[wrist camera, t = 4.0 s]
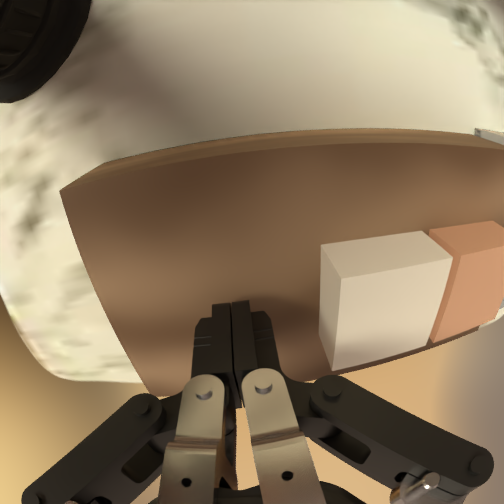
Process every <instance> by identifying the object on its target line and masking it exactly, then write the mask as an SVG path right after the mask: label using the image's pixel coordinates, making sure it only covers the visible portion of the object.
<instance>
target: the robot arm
mask: <svg viewBox="0 0 504 504" xmlns="http://www.w3.org/2000/svg"><path fill="white" fill-rule="evenodd" d="M193 346H194V347H193V357H192V369H191V379H190V380H189V381H188V382H187V383H186V384H185V386H184V389H183V390H182V391H181V392H180V393H178V394H176V395H173V396H170V397H167V398H164V399H161V400H159V399H158V398H157V397H156V396H154V395H152V394H148V393H143V394H138V395H135V396H133V397H132V398H130V399H129V400H128V401H127V402H126V403H125V404H124V405H123V406H121V407H120V408H119V409H118V410H117V411H116V412H115V413H114V414H112V416H110V417H109V418H108V419H107V420H106V421H105V422H103V423H102V424H101V425H100V426H99V427H98V428H97V429H95V430H94V431H93V432H92V433H91V434H90V435H89V436H87V437H86V438H85V439H84V440H83V441H82V442H81V443H79V444H78V445H77V446H76V447H75V448H74V449H73V450H71V451H70V452H69V453H68V454H67V455H65V456H64V457H63V458H62V459H61V460H59V461H58V462H57V463H56V464H55V465H54V466H52V467H51V468H50V469H49V470H48V471H46V472H45V473H44V474H43V475H42V476H41V477H39V478H38V479H37V480H36V481H34V482H33V483H32V484H31V485H30V486H28V487H27V488H26V489H25V491H24V492H23V494H22V500H21V501H22V504H130V503H131V502H132V501H133V500H134V499H136V498H137V497H138V496H139V495H140V494H141V493H142V492H143V491H144V490H145V489H146V488H147V487H148V486H149V485H150V484H151V483H152V482H153V481H154V480H155V479H156V478H157V477H158V476H160V474H161V480H160V488H159V494H158V497H157V498H155V499H154V500H152V501H151V502H150V503H148V504H366V503H365V502H363V501H361V500H360V499H358V498H357V497H355V496H354V495H352V494H351V493H349V492H348V491H346V490H345V489H343V488H341V487H339V486H336V485H333V484H331V483H327V482H323V481H319V479H318V476H317V473H316V470H315V466H314V463H313V460H312V457H311V454H310V451H309V448H308V444H307V441H306V438H305V437H309V438H310V439H311V440H312V441H314V442H315V443H316V444H318V445H319V446H321V447H322V448H324V449H325V450H327V451H328V452H330V453H331V454H333V455H334V456H336V457H338V458H339V459H341V460H342V461H344V462H345V463H347V464H349V465H351V466H352V467H354V468H355V469H357V470H359V471H360V472H362V473H364V474H366V475H367V476H369V477H371V478H372V479H374V480H376V481H378V482H379V483H381V484H383V485H385V486H387V487H388V488H390V489H392V491H391V494H390V504H463V502H464V500H465V498H466V496H467V495H468V494H469V493H470V492H471V491H473V490H474V489H476V488H477V487H479V486H481V485H482V484H484V483H485V482H486V481H487V480H488V479H489V478H490V476H491V474H492V472H493V468H494V461H493V457H492V455H491V453H490V452H489V451H488V450H487V449H485V448H483V447H480V446H478V445H476V444H473V443H471V442H469V441H466V440H465V439H462V438H460V437H458V436H456V435H454V434H452V433H450V432H447V431H445V430H443V429H441V428H439V427H437V426H435V425H433V424H431V423H429V422H427V421H424V420H422V419H420V418H419V417H417V416H415V415H413V414H411V413H409V412H407V411H405V410H403V409H401V408H399V407H397V406H395V405H393V404H392V403H390V402H387V401H386V400H384V399H382V398H380V397H378V396H377V395H375V394H373V393H371V392H369V391H367V390H366V389H364V388H362V387H360V386H358V385H357V384H355V383H353V382H351V381H349V380H348V379H346V378H344V377H342V376H338V375H326V376H323V377H321V378H319V379H317V380H316V381H315V382H314V383H305V382H298V381H295V380H292V379H290V378H289V377H287V376H286V375H285V374H284V373H283V372H282V370H281V367H280V362H279V357H278V352H277V347H276V342H275V338H274V332H273V327H272V322H271V318H270V317H269V316H268V315H267V314H266V312H265V311H264V310H263V311H256V312H251V310H250V303H249V300H243V301H235V302H231V303H230V302H228V303H219V304H212V317H207V318H201V319H200V320H199V322H198V324H197V325H196V327H195V334H194V345H193ZM241 399H242V401H241ZM242 402H243V406H244V408H245V409H246V415H247V420H248V425H249V430H250V436H251V444H252V450H253V455H254V460H255V465H256V470H257V475H258V480H259V485H258V486H255V487H252V488H248V489H245V490H238V483H237V482H238V481H237V474H236V436H237V433H236V432H237V425H236V409H237V408H242Z"/></svg>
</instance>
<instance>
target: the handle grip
mask: <svg viewBox="0 0 504 504" xmlns="http://www.w3.org/2000/svg"><path fill="white" fill-rule="evenodd" d="M90 4H91V0H0V103H11V102H14V101H17V100H21V99H24V98H25V97H27V96H28V95H30V94H31V93H33V92H34V91H36V90H38V89H39V88H40V87H41V86H42V85H43V84H44V83H45V82H46V81H48V80H49V79H50V78H51V77H52V76H53V75H54V74H55V73H56V71H57V70H58V69H59V68H60V66H61V65H62V64H63V62H64V61H65V60H66V59H67V58H68V56H69V54H70V53H71V51H72V49H73V47H74V46H75V44H76V42H77V41H78V39H79V37H80V35H81V32H82V30H83V27H84V25H85V23H86V20H87V18H88V13H89V9H90Z"/></svg>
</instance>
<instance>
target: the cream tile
mask: <svg viewBox="0 0 504 504" xmlns="http://www.w3.org/2000/svg"><path fill="white" fill-rule="evenodd" d="M452 260H453V257H452V256H451V255H450V254H449V253H448V252H446V251H445V250H444V249H443V248H442V247H441V246H439V245H438V244H437V243H436V242H435V241H434V240H432V239H431V238H430V237H429V236H428V235H426V234H425V233H424V232H423V231H415V232H408V233H401V234H394V235H387V236H380V237H372V238H365V239H358V240H351V241H344V242H337V243H329V244H322V245H321V275H320V311H319V336H320V339H321V342H322V345H323V347H324V350H325V353H326V356H327V359H328V361H329V364H330V367H331V370H332V371H335V370H340V369H344V368H348V367H353V366H357V365H361V364H365V363H369V362H372V361H376V360H380V359H383V358H387V357H390V356H394V355H397V354H401V353H404V352H407V351H410V350H414V349H417V348H420V347H423V346H426V343H427V341H428V338H429V335H430V333H431V330H432V327H433V324H434V321H435V319H436V316H437V313H438V310H439V306H440V303H441V300H442V297H443V293H444V290H445V287H446V283H447V279H448V276H449V272H450V268H451V264H452Z"/></svg>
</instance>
